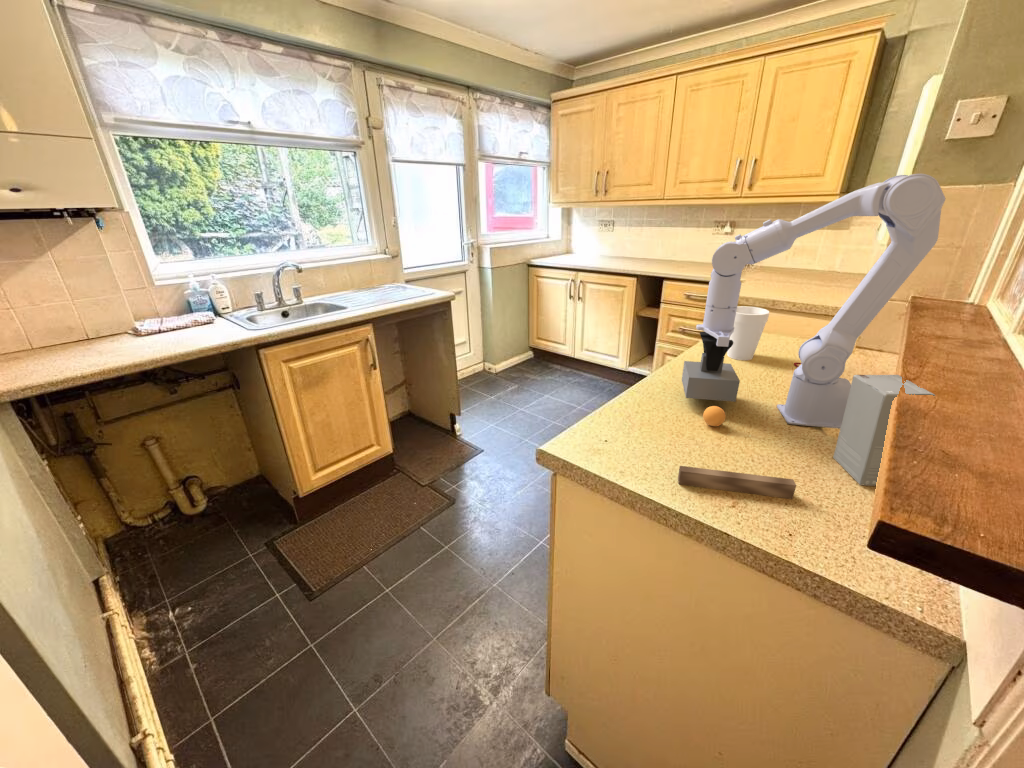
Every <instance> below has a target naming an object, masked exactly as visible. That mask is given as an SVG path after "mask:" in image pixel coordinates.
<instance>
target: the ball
mask: <svg viewBox="0 0 1024 768" xmlns="http://www.w3.org/2000/svg"><path fill="white" fill-rule="evenodd" d="M726 416H727V415H726V412H725V411H724V409H722V408H721V407H719V406H717V405H712V406H711V405H710V406H709V407H706V409H704V411H703V414H702V419H703V421H704V422H705V423H706V424H707V425H709V426H710V427H719V426H721V425H723V424H724V422H725V421H726Z"/></svg>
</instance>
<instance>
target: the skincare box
mask: <svg viewBox="0 0 1024 768" xmlns="http://www.w3.org/2000/svg"><path fill="white" fill-rule="evenodd" d="M852 376H853V377H852V379H851V382H850V384H851V387H850V392H849V396H848V400H847V404H846V408H845V412H844V416H843V420H842V424H841V428H840V429H839V433H838V436H837V440H836V446H835V449H834V451H833V456H832V458H833V459H834V460H835V461H836V462H837V463H838V464H839V465H840V466H841V467H842V469H844V470H845V471H846V472H847V473H848V474H849V475H850V476H851V477H852V478H853V479H854V480H855V481H856V483H858V484H859V485H860V486H870V487H871V486H874V487H876V486H875V485H876V482H877V477H878V472H879V468H880V463H881V458H882V452H883V447H884V441H885V435H886V430H887V425H888V419H889V414H890V409H891V405H892V401H893V400H894V398H895V397H897V395H898V394H899V391H900V388H901V387H902V385H904V388H905V393H906V394H909V395H911V394H912V395H914V394H915V395H933V396H935V397H936V394H935V393H933V392H931V391H929V390H927V389H925V388H923V387H922V388H920V387H921V386H919V385H918V384H915V383H914V382H912V381H911V380H908V379H907V380H906V382H905V381H904V382H905V383H904V384H903V383H902V377H903V376H901V375H899V374H854V375H852ZM917 385H918V386H919V387H918V386H917Z"/></svg>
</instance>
